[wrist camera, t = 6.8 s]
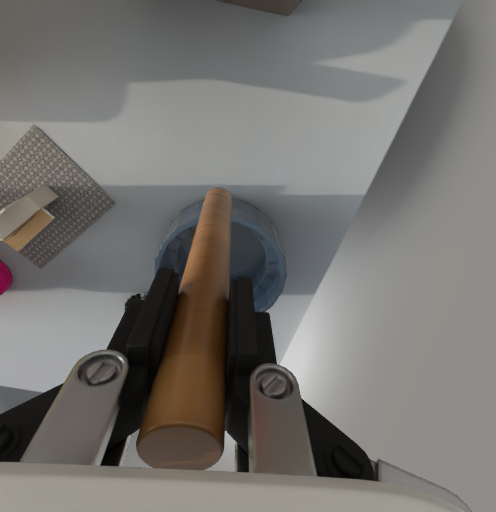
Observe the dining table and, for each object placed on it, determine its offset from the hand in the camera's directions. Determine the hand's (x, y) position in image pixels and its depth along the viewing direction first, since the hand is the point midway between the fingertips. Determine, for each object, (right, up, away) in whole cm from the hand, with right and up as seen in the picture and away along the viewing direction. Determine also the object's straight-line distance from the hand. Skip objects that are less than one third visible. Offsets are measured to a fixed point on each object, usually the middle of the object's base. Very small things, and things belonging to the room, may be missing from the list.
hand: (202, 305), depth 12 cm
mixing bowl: (-2, +3, +30) cm, 30 cm away
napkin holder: (-24, +8, +26) cm, 36 cm away
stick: (0, +6, +11) cm, 13 cm away
